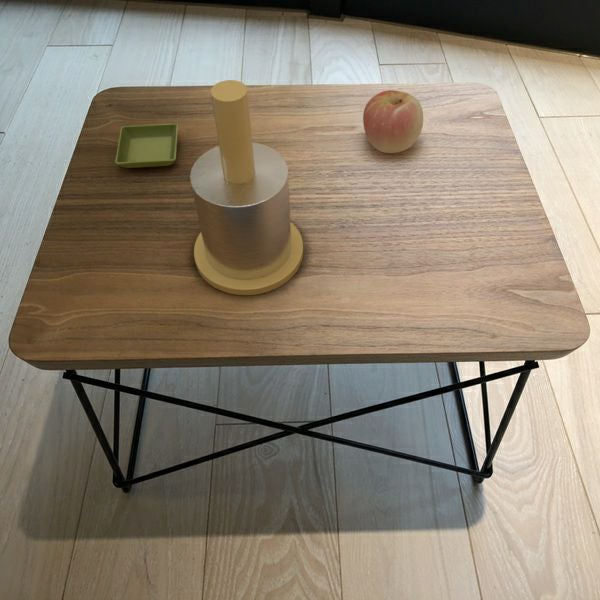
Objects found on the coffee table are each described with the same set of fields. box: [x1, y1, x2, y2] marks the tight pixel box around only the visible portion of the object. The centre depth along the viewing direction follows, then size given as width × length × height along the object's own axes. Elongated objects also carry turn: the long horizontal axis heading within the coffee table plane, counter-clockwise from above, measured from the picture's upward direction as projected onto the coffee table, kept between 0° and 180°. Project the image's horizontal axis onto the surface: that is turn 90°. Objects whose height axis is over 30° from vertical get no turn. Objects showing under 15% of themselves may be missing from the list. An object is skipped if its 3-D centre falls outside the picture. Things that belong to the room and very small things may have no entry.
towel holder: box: [189, 79, 304, 296], centre depth 70 cm, size 14×14×24 cm
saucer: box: [114, 123, 179, 169], centre depth 91 cm, size 9×9×2 cm
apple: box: [362, 89, 424, 154], centre depth 89 cm, size 9×9×8 cm
